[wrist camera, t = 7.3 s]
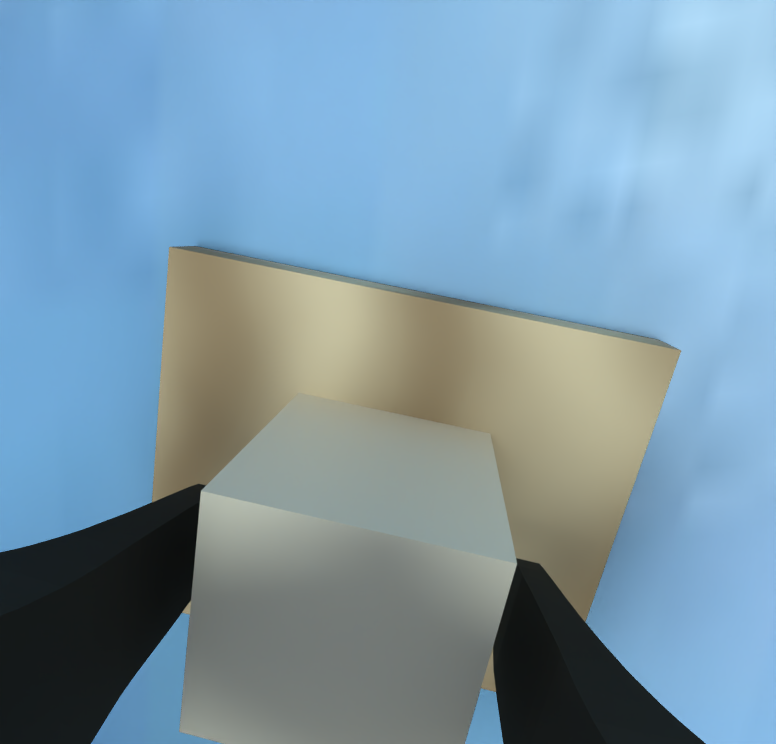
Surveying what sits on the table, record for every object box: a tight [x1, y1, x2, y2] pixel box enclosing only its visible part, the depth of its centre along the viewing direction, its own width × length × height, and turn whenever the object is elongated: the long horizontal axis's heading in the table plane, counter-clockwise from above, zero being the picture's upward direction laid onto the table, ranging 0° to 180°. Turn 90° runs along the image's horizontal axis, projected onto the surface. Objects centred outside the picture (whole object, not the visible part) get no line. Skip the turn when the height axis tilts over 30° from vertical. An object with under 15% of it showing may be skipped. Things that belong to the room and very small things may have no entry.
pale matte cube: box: [179, 393, 517, 744], centre depth 12 cm, size 6×6×6 cm
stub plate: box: [152, 246, 681, 692], centre depth 14 cm, size 14×12×5 cm
